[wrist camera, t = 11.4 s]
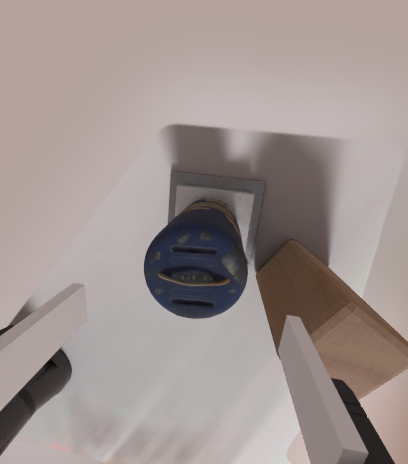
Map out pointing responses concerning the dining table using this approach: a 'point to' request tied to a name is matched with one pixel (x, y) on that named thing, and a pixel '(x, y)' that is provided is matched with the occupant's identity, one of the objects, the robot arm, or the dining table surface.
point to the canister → (198, 261)
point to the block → (331, 319)
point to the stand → (221, 200)
